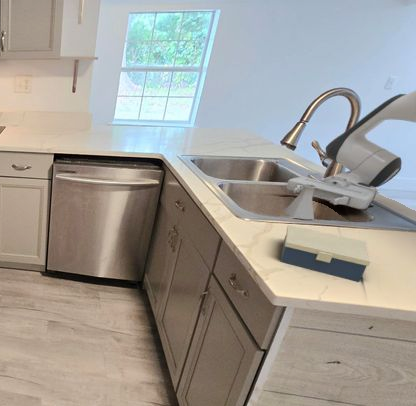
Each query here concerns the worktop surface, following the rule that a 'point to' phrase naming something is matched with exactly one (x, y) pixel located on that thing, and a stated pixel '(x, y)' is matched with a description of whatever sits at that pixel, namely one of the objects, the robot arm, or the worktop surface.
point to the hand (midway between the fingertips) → (314, 196)
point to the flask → (302, 204)
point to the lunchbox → (325, 253)
